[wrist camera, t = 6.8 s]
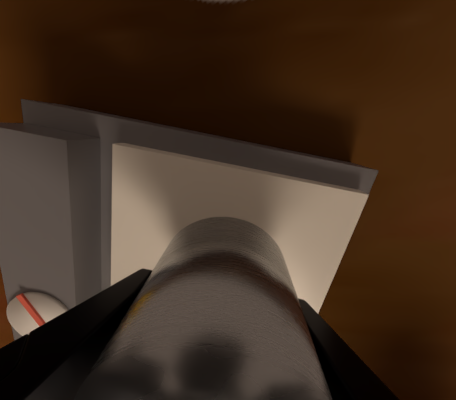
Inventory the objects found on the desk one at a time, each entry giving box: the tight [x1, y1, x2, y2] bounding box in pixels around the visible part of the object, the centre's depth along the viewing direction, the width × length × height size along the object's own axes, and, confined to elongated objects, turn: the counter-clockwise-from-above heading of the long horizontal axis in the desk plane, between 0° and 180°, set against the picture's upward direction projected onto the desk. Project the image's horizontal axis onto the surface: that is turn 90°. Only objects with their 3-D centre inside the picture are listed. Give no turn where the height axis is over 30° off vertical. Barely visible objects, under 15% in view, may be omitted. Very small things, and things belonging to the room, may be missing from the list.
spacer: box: [74, 217, 333, 400], centre depth 6 cm, size 5×5×5 cm
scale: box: [0, 99, 378, 340], centre depth 13 cm, size 20×16×5 cm
